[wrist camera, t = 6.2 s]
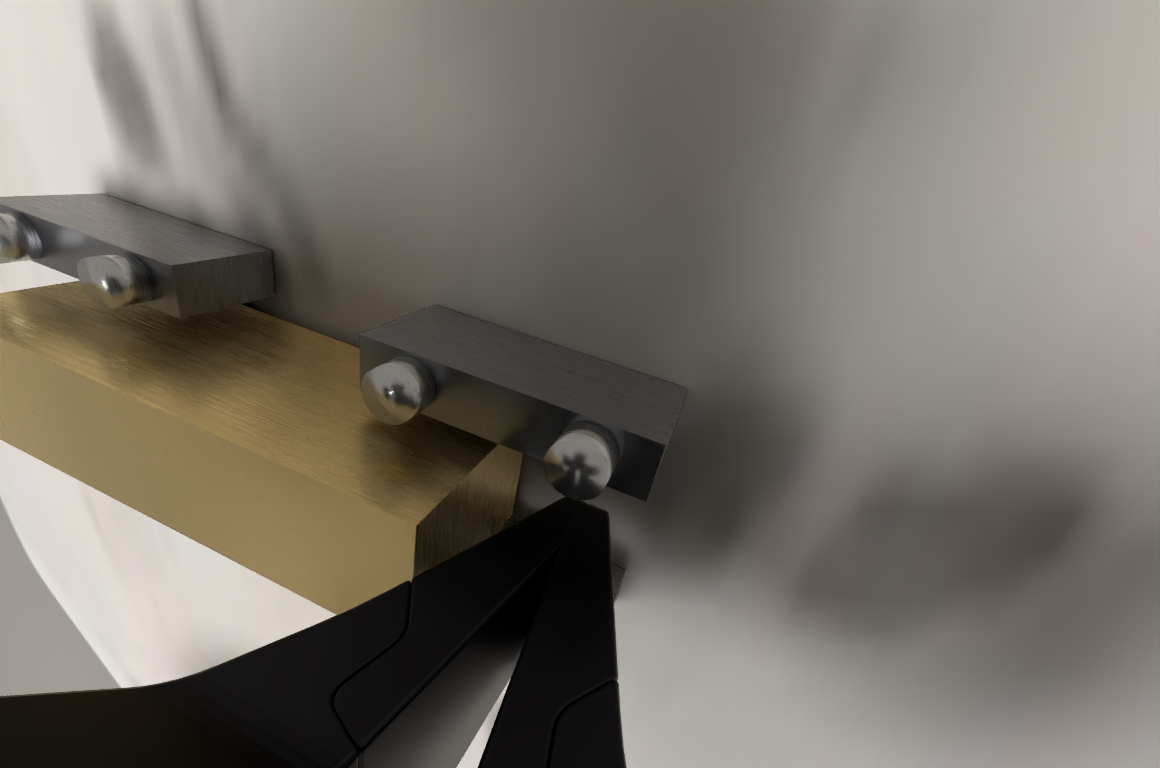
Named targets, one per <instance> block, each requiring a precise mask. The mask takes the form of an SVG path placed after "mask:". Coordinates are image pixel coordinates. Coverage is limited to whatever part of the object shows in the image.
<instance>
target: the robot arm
mask: <svg viewBox="0 0 1160 768" xmlns="http://www.w3.org/2000/svg"><path fill="white" fill-rule="evenodd" d="M511 676H512V677H511ZM510 677H511V679H510ZM509 679H510V682H509V685H508V687H507V690H506V693H505V696H504V698H503V701H502V704H501V706H500V709H499V712H498V714H497V717H496V720H495V722H494V725H493V728H492V731H491V733H490V736H489V739H488V741H487V744H486V747H485V749H484V752H483V755H482V758H481V760H480V763H479V766H478V768H626V761H625V754H624V747H623V736H622V724H621V713H620V698H619V683H618V682H617V680H618V667H617V649H616V631H615V613H614V595H613V577H612V559H611V541H610V523H609V513H608V512H607V511H606V510H604V509H601V508H599V507H596V506H594V505H591V504H587V503H586V502H584V501H582V500H576V499H572V498H569V497H567V496H565V497H563V498H562V499H560V500H558V501H556V502H554V503H552V504H550V505H548V506H546V507H545V508H543V509H541V510H539V511H537V512H535V513H533V514H531V515H530V516H528V517H526V518H524V519H522V520H520V521H518V522H516V523H515V524H513V525H511V526H509V527H507V528H505V529H503V530H501V531H499V532H498V533H496V534H494V535H492V536H490V537H488V538H486V539H484V540H483V541H481V542H479V543H477V544H475V545H473V546H471V547H469V548H468V549H466V550H464V551H462V552H460V553H458V554H456V555H454V556H453V557H451V558H449V559H447V560H445V561H443V562H441V563H439V564H437V565H436V566H434V567H432V568H430V569H428V570H426V571H424V572H422V573H421V574H419V575H417V576H415V577H413V578H412V580H411V582H410V581H409V580H407V581H405V582H403V583H401V584H399V585H398V586H396V587H394V588H392V589H390V590H388V591H386V592H384V593H382V594H380V595H378V596H376V597H374V598H372V599H370V600H368V601H366V602H364V603H362V604H360V605H358V606H356V607H354V608H352V609H350V610H348V611H345V612H343V613H341V614H338V615H336V616H334V617H332V618H329V619H327V620H325V621H323V622H320V623H318V624H316V625H313V626H311V627H309V628H306V629H304V630H301V631H299V632H297V633H294V634H292V635H289V636H287V637H285V638H282V639H280V640H277V641H275V642H273V643H270V644H268V645H265V646H263V647H261V648H258V649H256V650H253V651H251V652H248V653H246V654H244V655H241V656H239V657H236V658H234V659H232V660H229V661H227V662H224V663H222V664H220V665H217V666H215V667H212V668H209V669H207V670H204V671H201V672H199V673H196V674H193V675H189V676H186V677H183V678H180V679H176V680H172V681H168V682H163V683H159V684H153V685H148V686H141V687H130V688H117V689H101V690H87V691H72V692H58V693H42V694H27V695H12V696H0V768H456V767H457V766H458V764H459V762H460V761H461V759H462V757H463V756H464V754H465V752H466V751H467V749H468V747H469V746H470V744H471V742H472V741H473V739H474V737H475V736H476V734H477V732H478V731H479V729H480V727H481V726H482V724H483V722H484V721H485V719H486V717H487V716H488V714H489V712H490V711H491V709H492V707H493V706H494V704H495V702H496V701H497V699H498V697H499V696H500V694H501V692H502V691H503V689H504V687H505V686H506V684H507V682H508V681H509Z"/></svg>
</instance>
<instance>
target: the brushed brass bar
mask: <svg viewBox="0 0 1160 768" xmlns="http://www.w3.org/2000/svg"><path fill="white" fill-rule="evenodd" d="M0 439H1V440H3V441H5V442H6V443H8V444H10V445H12V446H14V447H16V448H18V449H20V450H22V451H24V452H26V453H28V454H29V455H31V456H33V457H35V458H37V459H39V460H41V461H43V462H45V463H47V464H49V465H51V466H53V467H54V468H56V469H58V470H60V471H62V472H64V473H66V474H68V475H70V476H72V477H74V478H76V479H77V480H79V481H81V482H83V483H85V484H87V485H89V486H91V487H93V488H95V489H97V490H99V491H100V492H102V493H104V494H106V495H108V496H110V497H112V498H114V499H116V500H118V501H120V502H122V503H124V504H125V505H127V506H129V507H131V508H133V509H135V510H137V511H139V512H141V513H143V514H145V515H147V516H148V517H150V518H152V519H154V520H156V521H158V522H160V523H162V524H164V525H166V526H168V527H170V528H171V529H173V530H175V531H177V532H179V533H181V534H183V535H185V536H187V537H189V538H191V539H193V540H194V541H196V542H198V543H200V544H202V545H204V546H206V547H208V548H210V549H212V550H214V551H216V552H218V553H219V554H221V555H223V556H225V557H227V558H229V559H231V560H233V561H235V562H237V563H239V564H241V565H242V566H244V567H246V568H248V569H250V570H252V571H254V572H256V573H258V574H260V575H262V576H264V577H265V578H267V579H269V580H271V581H273V582H275V583H277V584H279V585H281V586H283V587H285V588H287V589H289V590H290V591H292V592H294V593H296V594H298V595H300V596H302V597H304V598H306V599H308V600H310V601H312V602H313V603H315V604H317V605H319V606H321V607H323V608H325V609H327V610H329V611H331V612H333V613H335V614H336V615H338V614H341V613H343V612H345V611H348V610H350V609H352V608H354V607H356V606H358V605H360V604H362V603H364V602H366V601H368V600H370V599H372V598H374V597H376V596H378V595H380V594H382V593H384V592H386V591H388V590H390V589H392V588H394V587H396V586H398V585H399V584H401V583H403V582H405V581H407V580H409V581H410V582H411V580H412V578H413V577H415V576H417V575H419V574H421V573H422V572H424V571H426V570H428V569H430V568H432V567H434V566H436V565H437V564H439V563H441V562H443V561H445V560H447V559H449V558H451V557H453V556H454V555H456V554H458V553H460V552H462V551H464V550H466V549H468V548H469V547H471V546H473V545H475V544H477V543H479V542H481V541H483V540H484V539H486V538H488V537H490V536H492V535H494V534H496V533H498V532H499V531H500V530H501V529H502V527H503V526H504V525H505V523H506V522H507V521H508V519H509V518H510V517H511V516H512V514H513V508H514V503H515V497H516V491H517V486H518V480H519V475H520V469H521V463H522V458H523V453H521V452H518V451H515V450H513V449H510V448H508V447H505V446H503V445H500V444H498V443H495V442H493V441H490V440H487V439H485V438H482V437H480V436H477V435H475V434H472V433H470V432H467V431H465V430H462V429H459V428H457V427H454V426H452V425H449V424H447V423H444V422H442V421H439V420H437V419H434V418H431V417H429V416H426V415H424V414H421V413H418V414H416V415H415V416H413V417H412V418H411V419H409V420H408V421H406V422H405V423H403V424H400V425H390V424H386V423H384V422H382V421H380V420H379V419H378V418H376V417H375V416H374V415H373V414H372V413H371V412H370V410H369V409H368V408H367V406H366V404H365V402H364V400H363V397H362V393H361V390H360V348H357V347H355V346H352V345H349V344H347V343H344V342H341V341H338V340H336V339H333V338H330V337H328V336H325V335H322V334H320V333H317V332H314V331H311V330H309V329H306V328H303V327H301V326H298V325H295V324H293V323H290V322H287V321H285V320H282V319H279V318H276V317H274V316H271V315H268V314H266V313H263V312H260V311H258V310H255V309H252V308H249V307H247V306H244V305H241V304H239V305H235V306H231V307H227V308H223V309H219V310H215V311H211V312H206V313H202V314H198V315H194V316H190V317H186V318H182V319H179V318H177V317H174V316H172V315H169V314H167V313H164V312H162V311H159V310H156V309H154V308H151V307H149V306H146V305H144V304H141V303H139V304H134V305H129V306H124V307H119V308H115V309H110V310H106V309H103V308H101V307H99V306H98V305H96V304H95V303H94V302H93V301H92V300H91V299H90V298H89V297H88V295H87V294H86V292H85V291H84V289H83V287H82V285H81V283H80V281H75V282H69V283H62V284H56V285H50V286H43V287H37V288H30V289H24V290H18V291H11V292H5V293H0Z"/></svg>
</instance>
